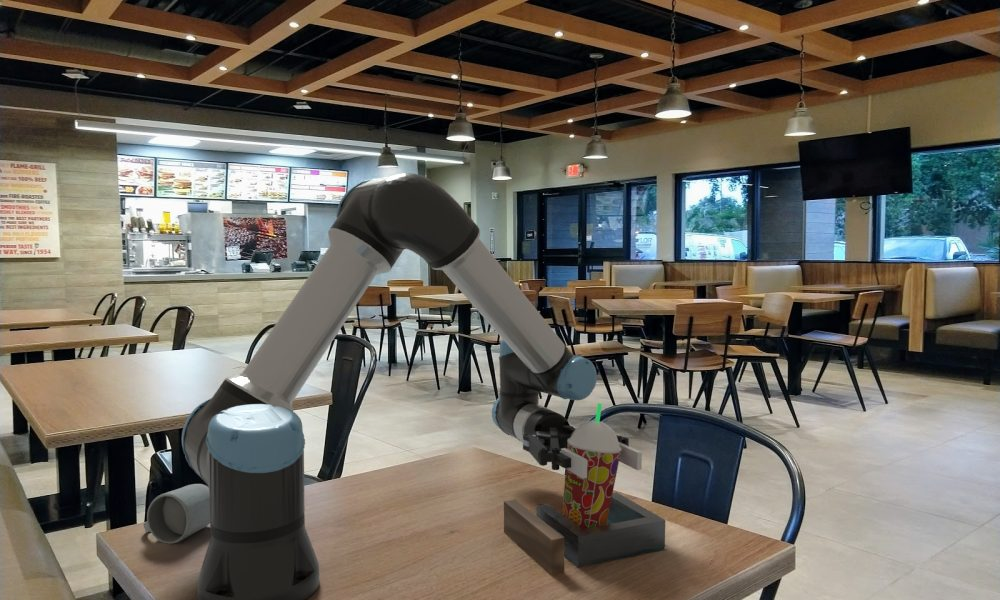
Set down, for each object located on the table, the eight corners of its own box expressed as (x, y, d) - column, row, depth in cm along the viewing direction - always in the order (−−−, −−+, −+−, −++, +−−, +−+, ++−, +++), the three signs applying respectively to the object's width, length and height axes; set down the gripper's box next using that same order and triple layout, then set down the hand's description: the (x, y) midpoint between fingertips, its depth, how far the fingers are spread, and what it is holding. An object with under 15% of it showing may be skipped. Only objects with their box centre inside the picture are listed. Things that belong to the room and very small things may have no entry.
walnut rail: (551, 575, 93) (551, 539, 93) (503, 532, 107) (503, 501, 107) (564, 572, 94) (564, 537, 93) (515, 529, 108) (515, 499, 108)
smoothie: (549, 520, 107) (565, 396, 107) (598, 523, 109) (614, 401, 109) (565, 540, 99) (583, 406, 99) (618, 543, 101) (635, 411, 101)
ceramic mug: (223, 526, 110) (221, 479, 109) (188, 546, 102) (186, 496, 101) (167, 520, 112) (165, 475, 112) (129, 540, 104) (127, 492, 104)
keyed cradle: (578, 567, 95) (578, 536, 95) (530, 528, 109) (530, 501, 109) (664, 549, 101) (665, 519, 101) (609, 514, 115) (609, 488, 115)
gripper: (594, 443, 125) (671, 480, 105) (486, 457, 116) (548, 500, 96) (594, 403, 125) (672, 432, 104) (486, 414, 116) (548, 448, 95)
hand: (612, 465), depth 100 cm, fingers open, 9 cm apart
